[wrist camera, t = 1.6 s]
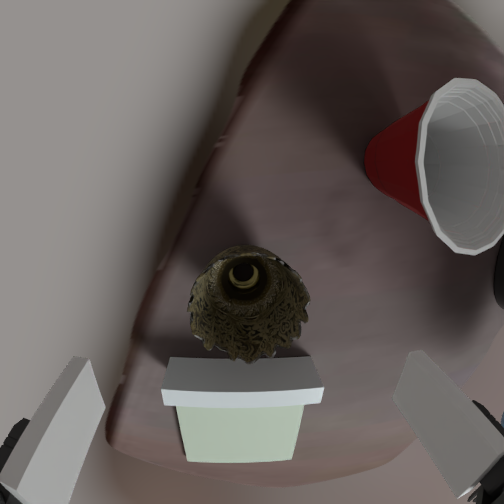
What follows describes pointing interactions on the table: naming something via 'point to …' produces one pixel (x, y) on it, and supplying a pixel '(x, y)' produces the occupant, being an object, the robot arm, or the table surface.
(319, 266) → the table surface
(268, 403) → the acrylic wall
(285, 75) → the table surface
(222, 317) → the cup
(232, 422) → the green pad
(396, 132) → the plastic cup
